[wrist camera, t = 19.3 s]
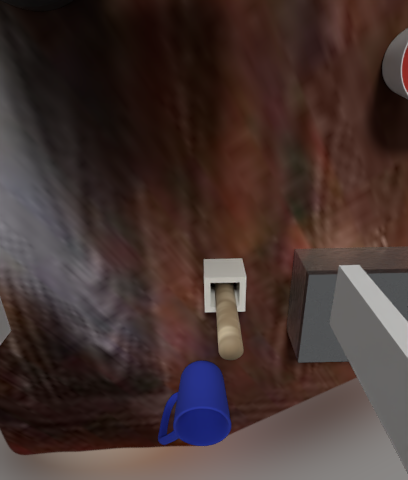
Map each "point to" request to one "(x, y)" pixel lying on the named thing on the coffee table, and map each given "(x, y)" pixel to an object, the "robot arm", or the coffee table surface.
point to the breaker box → (323, 288)
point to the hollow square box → (224, 280)
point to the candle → (397, 65)
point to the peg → (227, 322)
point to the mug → (198, 407)
